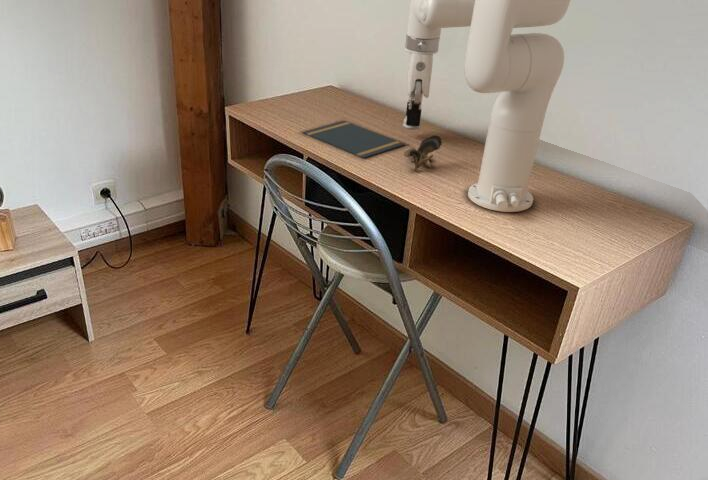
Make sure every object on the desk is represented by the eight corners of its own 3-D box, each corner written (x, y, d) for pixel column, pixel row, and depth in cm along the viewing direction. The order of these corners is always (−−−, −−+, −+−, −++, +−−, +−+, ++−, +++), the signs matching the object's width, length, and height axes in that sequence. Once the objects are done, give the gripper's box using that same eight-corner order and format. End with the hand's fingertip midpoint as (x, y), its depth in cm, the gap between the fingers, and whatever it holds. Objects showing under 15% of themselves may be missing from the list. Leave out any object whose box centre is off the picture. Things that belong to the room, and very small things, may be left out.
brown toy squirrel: (441, 170, 137) (449, 149, 143) (425, 143, 134) (434, 123, 140) (410, 182, 141) (419, 161, 147) (394, 156, 138) (404, 136, 144)
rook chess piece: (422, 130, 154) (426, 97, 150) (403, 130, 154) (407, 97, 150) (419, 124, 158) (423, 92, 154) (401, 123, 158) (405, 91, 154)
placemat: (404, 145, 153) (404, 143, 152) (364, 158, 145) (364, 157, 145) (343, 121, 166) (343, 120, 166) (303, 133, 158) (303, 131, 158)
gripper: (441, 53, 138) (429, 134, 148) (436, 37, 152) (426, 112, 162) (406, 51, 139) (397, 132, 149) (405, 35, 153) (396, 110, 163)
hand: (412, 121), depth 155 cm, fingers closed on rook chess piece, 4 cm apart
